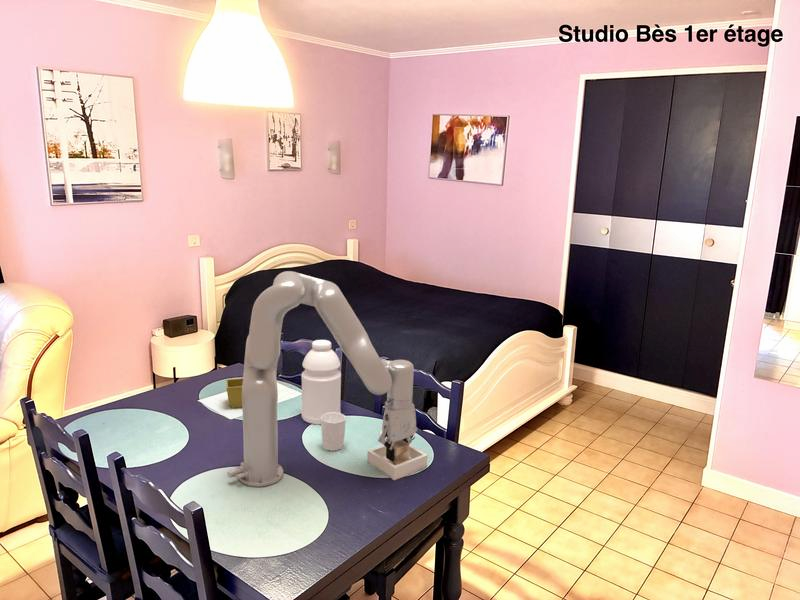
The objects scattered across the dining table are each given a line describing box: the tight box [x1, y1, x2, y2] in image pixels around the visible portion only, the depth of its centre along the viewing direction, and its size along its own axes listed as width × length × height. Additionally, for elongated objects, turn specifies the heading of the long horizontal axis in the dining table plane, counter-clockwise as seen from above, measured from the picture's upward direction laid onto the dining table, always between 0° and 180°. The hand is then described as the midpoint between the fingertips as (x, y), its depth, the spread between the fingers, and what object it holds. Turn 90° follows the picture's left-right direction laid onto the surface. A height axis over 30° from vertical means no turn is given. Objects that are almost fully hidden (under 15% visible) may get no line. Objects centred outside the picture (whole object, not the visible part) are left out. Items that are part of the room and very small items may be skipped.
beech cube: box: [389, 440, 411, 464], centre depth 180 cm, size 5×5×5 cm
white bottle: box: [301, 339, 342, 425], centre depth 209 cm, size 14×14×28 cm
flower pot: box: [225, 377, 243, 409], centre depth 219 cm, size 9×9×9 cm
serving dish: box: [366, 444, 429, 481], centre depth 181 cm, size 13×13×4 cm
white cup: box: [320, 412, 347, 452], centre depth 190 cm, size 8×8×10 cm
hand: (397, 456), depth 181 cm, fingers closed on beech cube, 5 cm apart
